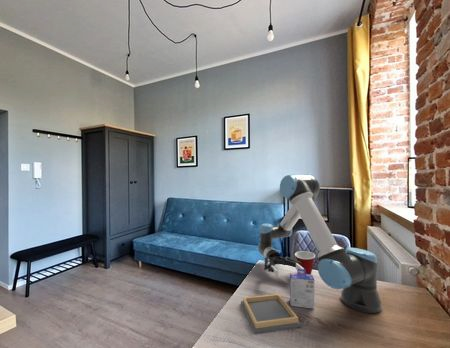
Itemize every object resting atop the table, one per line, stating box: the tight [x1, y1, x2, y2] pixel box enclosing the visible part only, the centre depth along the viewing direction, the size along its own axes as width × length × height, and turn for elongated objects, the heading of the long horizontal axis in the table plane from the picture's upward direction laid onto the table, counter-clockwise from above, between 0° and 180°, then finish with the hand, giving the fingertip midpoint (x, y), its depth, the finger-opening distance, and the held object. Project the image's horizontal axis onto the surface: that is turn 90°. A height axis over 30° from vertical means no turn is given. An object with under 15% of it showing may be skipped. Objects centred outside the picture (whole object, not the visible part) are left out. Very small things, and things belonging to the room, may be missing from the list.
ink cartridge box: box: [289, 269, 315, 309], centre depth 95 cm, size 10×6×14 cm, turn 78°
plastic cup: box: [294, 250, 316, 275], centre depth 122 cm, size 11×11×12 cm
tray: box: [240, 293, 302, 334], centre depth 88 cm, size 18×18×3 cm
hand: (290, 272), depth 105 cm, fingers open, 13 cm apart
